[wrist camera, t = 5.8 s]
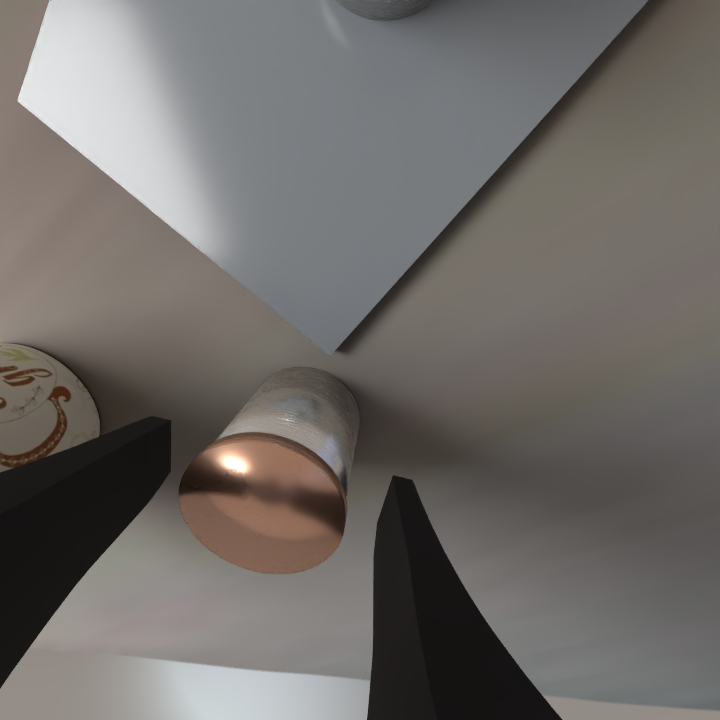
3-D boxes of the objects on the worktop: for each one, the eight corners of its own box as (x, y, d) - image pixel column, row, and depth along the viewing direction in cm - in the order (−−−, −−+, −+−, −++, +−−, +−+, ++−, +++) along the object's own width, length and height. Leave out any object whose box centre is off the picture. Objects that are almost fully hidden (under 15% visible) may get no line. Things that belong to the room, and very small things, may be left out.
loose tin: (386, 414, 14) (380, 516, 9) (316, 479, 15) (280, 596, 10) (294, 341, 13) (235, 409, 8) (231, 417, 14) (150, 512, 10)
